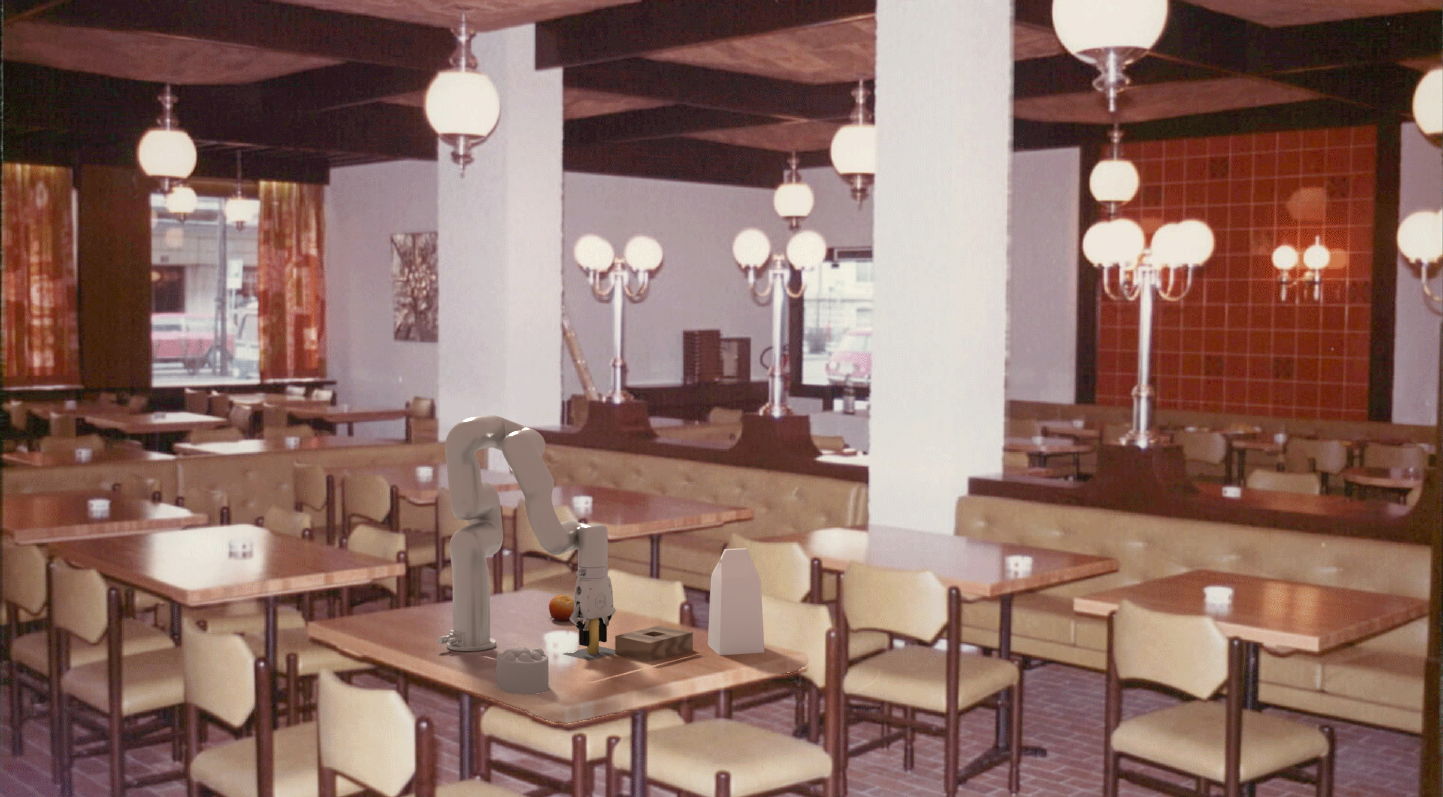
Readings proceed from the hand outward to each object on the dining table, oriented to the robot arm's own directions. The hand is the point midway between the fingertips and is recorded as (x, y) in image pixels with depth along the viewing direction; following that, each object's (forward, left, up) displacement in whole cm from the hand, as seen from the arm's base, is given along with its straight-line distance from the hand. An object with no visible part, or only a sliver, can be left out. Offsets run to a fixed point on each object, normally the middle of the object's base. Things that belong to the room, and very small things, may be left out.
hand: (593, 642), depth 332 cm
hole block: (+11, -11, -3) cm, 16 cm away
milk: (+29, -23, -3) cm, 37 cm away
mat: (0, 0, -3) cm, 3 cm away
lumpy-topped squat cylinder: (-32, -12, -3) cm, 35 cm away
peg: (0, 0, -3) cm, 3 cm away
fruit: (+23, +37, -3) cm, 44 cm away
